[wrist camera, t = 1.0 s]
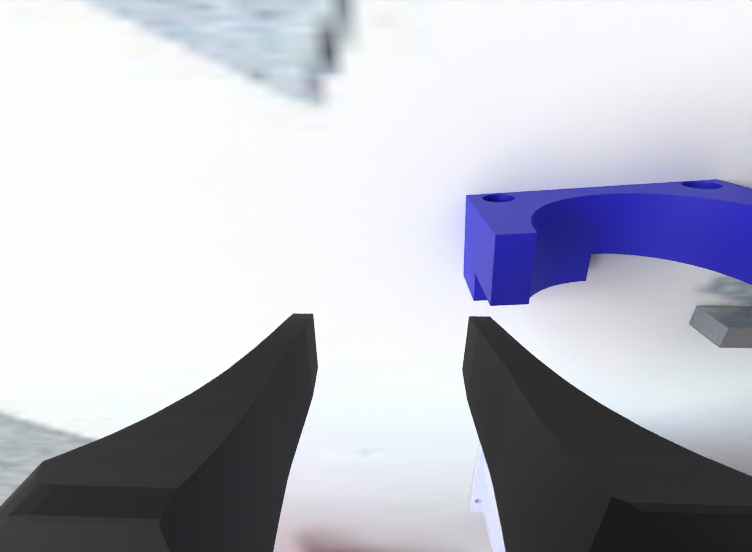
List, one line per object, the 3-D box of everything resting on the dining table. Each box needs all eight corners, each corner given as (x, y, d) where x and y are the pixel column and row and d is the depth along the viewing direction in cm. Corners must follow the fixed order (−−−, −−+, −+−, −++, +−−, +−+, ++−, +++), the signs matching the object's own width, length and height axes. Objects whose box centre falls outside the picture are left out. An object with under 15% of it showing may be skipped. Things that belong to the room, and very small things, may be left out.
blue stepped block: (463, 273, 21) (488, 336, 16) (465, 194, 19) (495, 234, 14) (687, 262, 20) (794, 324, 15) (713, 178, 18) (848, 214, 13)
